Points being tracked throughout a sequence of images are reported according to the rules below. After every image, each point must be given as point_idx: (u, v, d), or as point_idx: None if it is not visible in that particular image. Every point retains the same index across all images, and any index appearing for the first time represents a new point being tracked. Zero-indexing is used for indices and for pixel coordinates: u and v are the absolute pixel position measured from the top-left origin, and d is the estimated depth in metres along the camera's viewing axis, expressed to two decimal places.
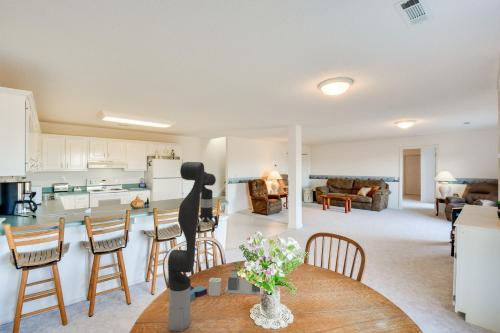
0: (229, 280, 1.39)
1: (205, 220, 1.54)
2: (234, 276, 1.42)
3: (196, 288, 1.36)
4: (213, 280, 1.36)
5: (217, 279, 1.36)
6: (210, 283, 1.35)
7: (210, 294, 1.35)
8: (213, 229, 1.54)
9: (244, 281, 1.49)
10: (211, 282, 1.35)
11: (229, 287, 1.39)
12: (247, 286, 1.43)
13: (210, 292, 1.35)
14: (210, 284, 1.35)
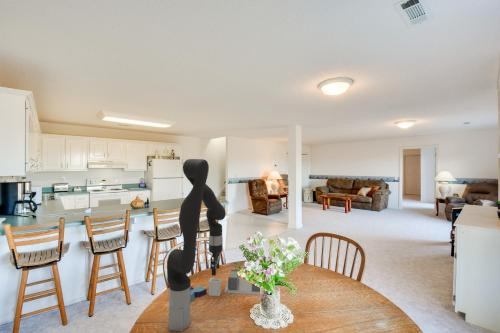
0: (229, 280, 1.39)
1: (217, 258, 1.36)
2: (234, 276, 1.42)
3: (196, 288, 1.36)
4: (213, 280, 1.36)
5: (217, 279, 1.36)
6: (210, 283, 1.35)
7: (210, 294, 1.35)
8: None
9: (244, 281, 1.49)
10: (211, 282, 1.35)
11: (229, 287, 1.39)
12: (247, 286, 1.43)
13: (210, 292, 1.35)
14: (210, 284, 1.35)
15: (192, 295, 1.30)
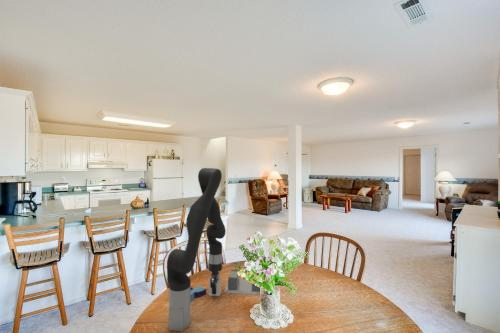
0: (229, 280, 1.39)
1: None
2: (234, 276, 1.42)
3: (195, 288, 1.36)
4: None
5: None
6: None
7: (210, 294, 1.35)
8: None
9: (244, 281, 1.49)
10: None
11: (229, 287, 1.39)
12: (247, 286, 1.43)
13: (210, 292, 1.35)
14: (210, 284, 1.35)
15: (192, 295, 1.29)
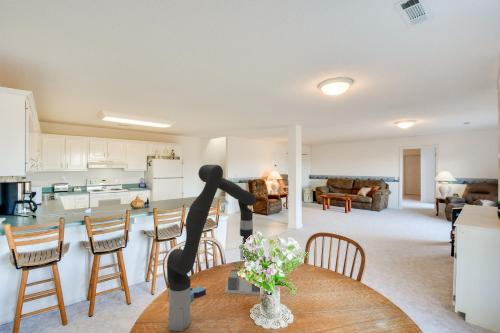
0: (229, 280, 1.39)
1: None
2: (234, 276, 1.42)
3: (195, 289, 1.35)
4: None
5: None
6: None
7: (241, 259, 1.42)
8: None
9: (244, 281, 1.49)
10: None
11: (229, 287, 1.39)
12: (247, 286, 1.43)
13: (241, 256, 1.42)
14: None
15: (191, 296, 1.29)
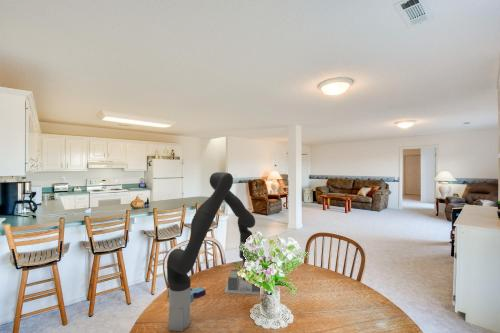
0: (229, 280, 1.39)
1: None
2: (234, 276, 1.42)
3: (194, 289, 1.35)
4: None
5: None
6: None
7: (241, 280, 1.43)
8: None
9: None
10: None
11: (229, 287, 1.39)
12: (247, 286, 1.43)
13: (241, 278, 1.43)
14: None
15: (191, 296, 1.29)
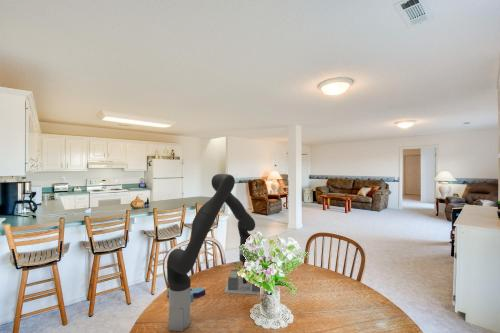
0: (229, 280, 1.39)
1: None
2: (234, 276, 1.42)
3: (194, 289, 1.35)
4: None
5: None
6: None
7: (241, 285, 1.43)
8: None
9: None
10: None
11: (229, 287, 1.39)
12: None
13: (241, 283, 1.43)
14: None
15: (191, 296, 1.28)
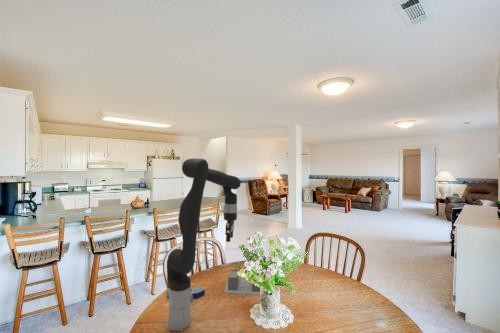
0: (229, 280, 1.39)
1: (231, 226, 1.42)
2: (234, 276, 1.42)
3: (194, 290, 1.35)
4: None
5: None
6: None
7: (241, 285, 1.43)
8: None
9: None
10: None
11: (229, 287, 1.39)
12: None
13: (241, 283, 1.43)
14: None
15: (191, 297, 1.28)
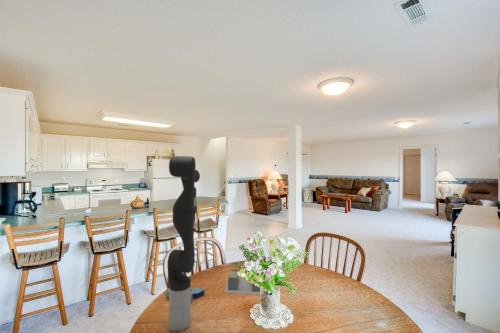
0: (229, 280, 1.39)
1: None
2: (234, 276, 1.42)
3: (193, 290, 1.34)
4: None
5: None
6: None
7: (241, 285, 1.43)
8: None
9: None
10: None
11: (229, 287, 1.39)
12: None
13: (241, 283, 1.43)
14: None
15: (190, 297, 1.28)
